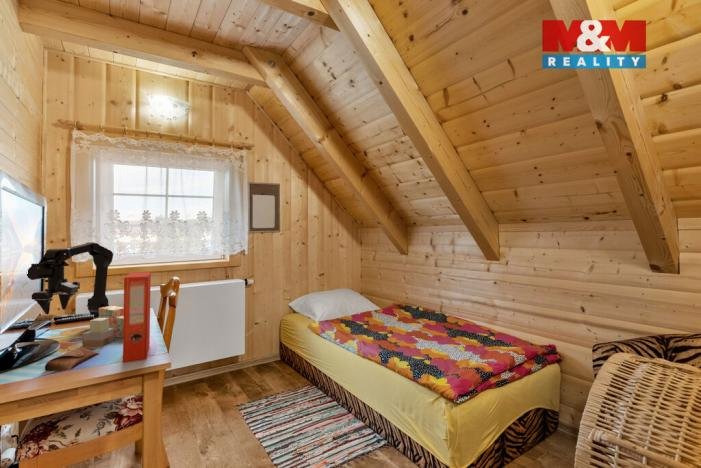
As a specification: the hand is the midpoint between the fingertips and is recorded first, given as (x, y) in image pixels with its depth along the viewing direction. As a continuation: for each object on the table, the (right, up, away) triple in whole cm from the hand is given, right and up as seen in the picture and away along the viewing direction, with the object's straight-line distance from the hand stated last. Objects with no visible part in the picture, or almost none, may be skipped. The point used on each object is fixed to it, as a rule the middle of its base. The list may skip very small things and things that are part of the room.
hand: (55, 311), depth 156 cm
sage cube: (+21, -8, -2) cm, 23 cm away
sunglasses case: (+28, -14, -24) cm, 39 cm away
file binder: (+46, -14, -15) cm, 50 cm away
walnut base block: (+21, -14, -3) cm, 25 cm away
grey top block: (+21, -11, -3) cm, 24 cm away
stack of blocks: (+20, -14, +11) cm, 27 cm away
